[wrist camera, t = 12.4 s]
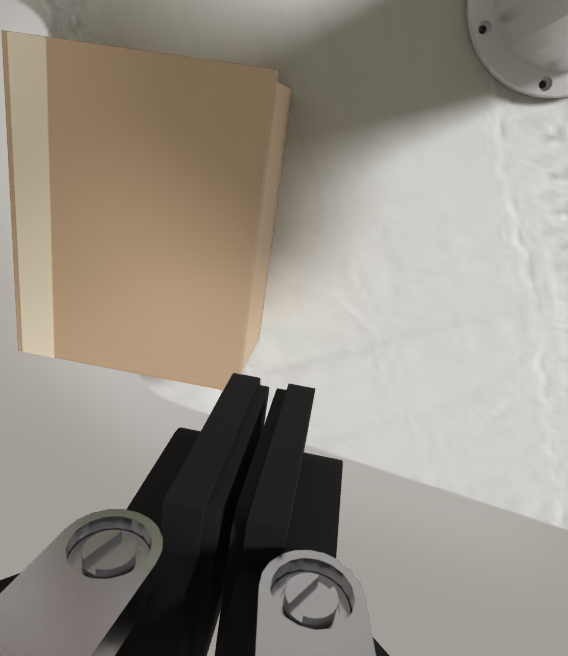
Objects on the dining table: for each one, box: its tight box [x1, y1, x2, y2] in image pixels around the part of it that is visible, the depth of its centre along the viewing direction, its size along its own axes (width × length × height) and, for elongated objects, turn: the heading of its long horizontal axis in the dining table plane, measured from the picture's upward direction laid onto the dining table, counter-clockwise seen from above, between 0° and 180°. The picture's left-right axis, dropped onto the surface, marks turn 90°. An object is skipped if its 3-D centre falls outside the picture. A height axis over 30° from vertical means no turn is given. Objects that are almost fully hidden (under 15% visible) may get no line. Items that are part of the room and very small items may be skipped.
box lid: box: [2, 30, 279, 390], centre depth 35 cm, size 21×17×1 cm
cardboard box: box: [242, 82, 292, 372], centre depth 39 cm, size 20×16×8 cm
